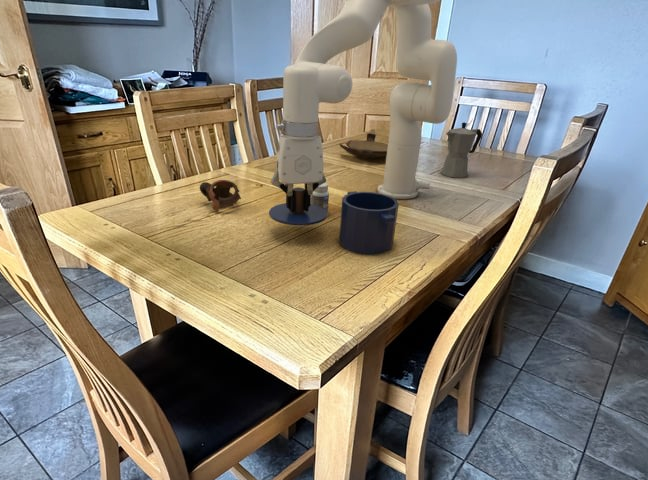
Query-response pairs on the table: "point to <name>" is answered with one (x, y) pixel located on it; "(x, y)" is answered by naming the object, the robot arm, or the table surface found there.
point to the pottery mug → (220, 193)
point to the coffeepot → (460, 150)
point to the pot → (368, 222)
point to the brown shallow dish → (366, 147)
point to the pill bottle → (321, 197)
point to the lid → (298, 212)
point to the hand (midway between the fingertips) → (298, 209)
